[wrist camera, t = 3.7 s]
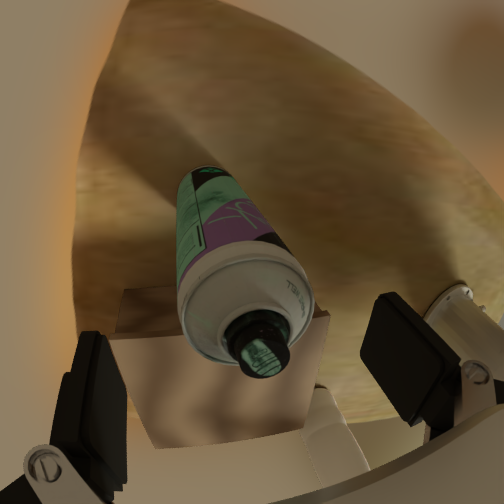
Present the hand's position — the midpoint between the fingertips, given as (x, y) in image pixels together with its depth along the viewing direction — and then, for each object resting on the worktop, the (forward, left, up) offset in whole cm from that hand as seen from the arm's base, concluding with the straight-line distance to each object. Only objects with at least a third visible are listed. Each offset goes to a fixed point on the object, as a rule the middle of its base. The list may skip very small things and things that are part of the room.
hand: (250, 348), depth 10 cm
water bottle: (-14, +33, -20) cm, 41 cm away
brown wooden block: (0, +18, -19) cm, 27 cm away
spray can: (0, 0, -20) cm, 20 cm away
